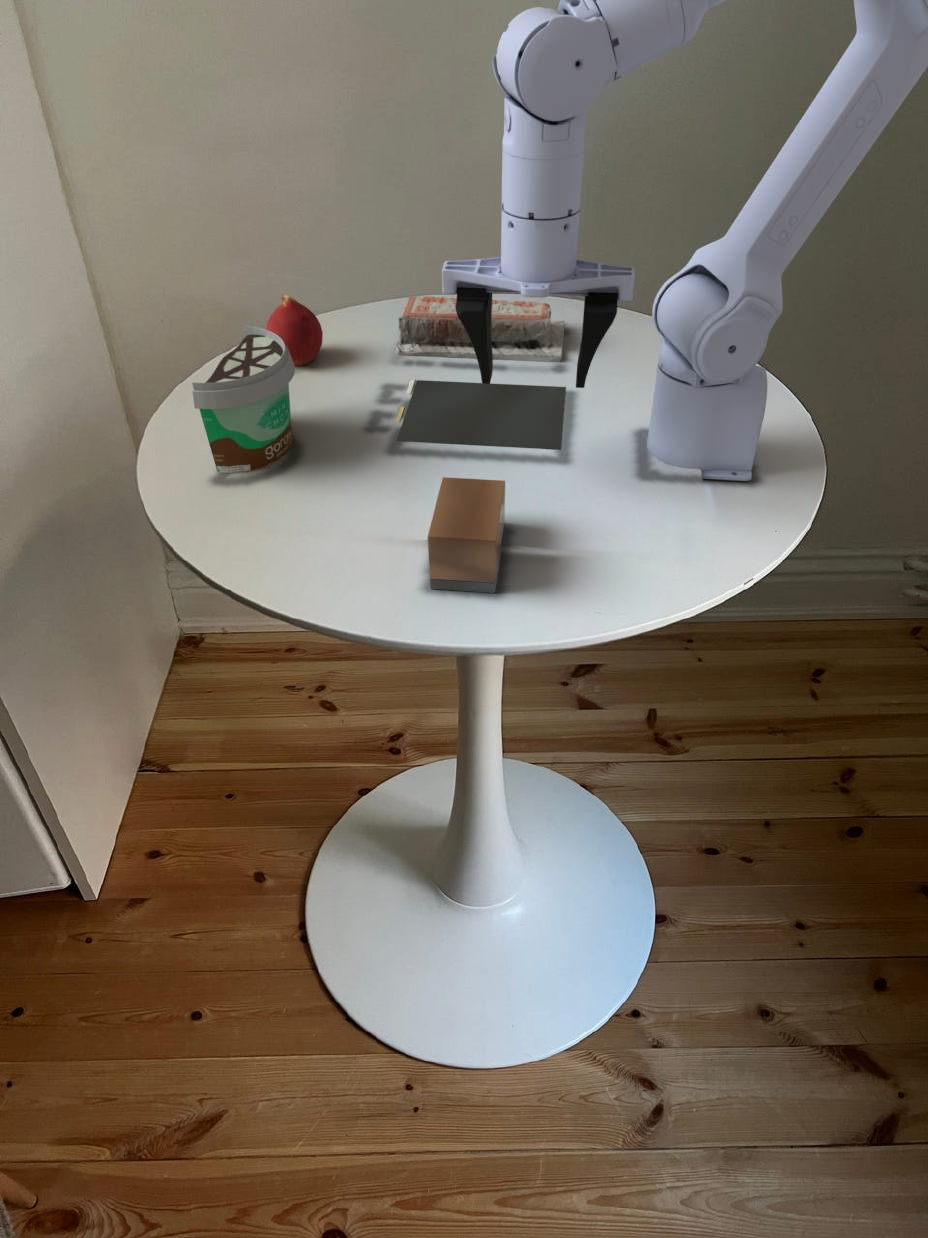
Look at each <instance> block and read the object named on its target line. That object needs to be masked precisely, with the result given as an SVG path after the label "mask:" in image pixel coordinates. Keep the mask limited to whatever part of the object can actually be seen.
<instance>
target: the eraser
mask: <svg viewBox="0 0 928 1238" xmlns="http://www.w3.org/2000/svg"><path fill="white" fill-rule="evenodd" d="M505 509H506V481H505V480H499V479H482V478H481V479H480V478H463V477H446V476H442V478H441V483H440V486H439V490H438V494H437V498H436V502H435V506H434V510H433V514H432V518H431V521H430V522H431V523H430V526H429V530H428V534H427V551H428V570H429V589H431V590H444V591H459V592H473V593H486V594H487V593H489V594H495V593H496V589H497V582H498V575H499V569H500V564H501V557H502V549H503V544H502V540H503V534H504V528H505V518H506V517H505V513H506V511H505Z"/></svg>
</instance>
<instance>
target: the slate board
mask: <svg viewBox="0 0 928 1238" xmlns="http://www.w3.org/2000/svg"><path fill="white" fill-rule="evenodd" d="M566 389H567V388H566V386H556V385H553V386H552V385H536V384H535V385H533V384H532V385H531V384H511V383H491V382H490V384H486V383H482V382H466V381H448V380H447V381H443V380H424V379H423V380H422V379H417V380H416V381H415V384H414V387H413V389H412V392H411V396H410V400H409V402H408V406H407V407H406V411H405V414H404V416H403V420H402V423H401V426H400V429H399V432H398V435H397V438H396V440H395V441H396V442H401V443H402V442H405V443H420V444H421V443H423V444H439V445H440V444H442V445H443V444H445V445H458V446H459V445H460V446H461V445H462V446H481V447H496V448H497V447H499V448H518V449H519V448H520V449H535V450H537V449H539V450H555V451H560V450H562V438H563V426H564V414H565V413H564V412H565V399H566Z"/></svg>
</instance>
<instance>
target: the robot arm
mask: <svg viewBox="0 0 928 1238" xmlns="http://www.w3.org/2000/svg"><path fill="white" fill-rule="evenodd" d="M726 1H727V0H559V3H558V8H557V10H555V9H553V8H549V7H542V6H537V7H530V8H528V9H526V10H523V11H522V12H520V13H518V14H517V15H516V16H515V17H514V18H513V19H512V20H511V21H509V23H508V24H507V29H506V31H503V32H502V35H501V37H500V39H499V42H498V45H497V49H496V54H493V56H492V58H491V63H492V70H493V74H494V77H495V80H496V82H497V84H498V86H499V88H500V89H501V90H502V92H503V93H504V94H505V97H504V101H503V102H504V104H503V105H504V106H503V107H504V113H503V117H504V119H503V135H502V141H501V142H502V143H501V144H502V145H501V146H502V147H501V148H502V149H501V156H502V157H501V162H502V163H501V218H500V219H501V221H500V222H501V226H500V227H501V230H500V231H501V233H500V235H501V236H500V256H497V257H490V258H489V257H487V258H486V257H485V258H476V259H465V260H464V259H463V260H444V263H443V266H442V269H441V287H442V295H446V296H447V295H449V296H450V295H451V296H455V295H456V298H457V302H456V305H455V309H456V313H457V315H458V318H459V320H460V321H461V323H462V325H463V326H464V328H465V330H466V332H467V334H468V336H469V338H470V341H471V343H472V345H473V348H474V351H475V354H476V357H477V359H476V360H477V363H478V364H477V365H478V368H479V373H480V379H481V380H480V381H481V383H486V384H490V383H491V380H492V377H493V366H494V360H493V355H492V339H491V317H492V300H493V294H510V295H511V294H515V295H517V294H518V295H521V296H522V297H524V298H541V299H542V298H547V297H549V296H567V297H568V296H570V297H584V302H583V317H582V330H581V338H580V345H579V352H578V356H577V357H578V358H577V363H576V377H575V388H576V389H584V388H586V387H585V386H586V380H587V377H588V373H589V370H590V367H591V364H592V362H593V359H594V356H595V354H596V353H597V351H598V348H599V346H600V344H601V343H602V341H603V339H604V337H605V336H606V334H607V332H608V331H609V330H610V328H611V326H612V325H613V323H614V321H615V319H616V318H617V317H616V316H617V314H618V301H619V302H632V301H633V298H634V289H635V282H636V281H635V279H636V271H635V267H634V266H625V265H615V264H607V263H601V262H595V261H589V260H584V259H578V244H579V228H580V217H581V202H582V188H583V187H582V186H583V185H582V184H583V172H584V159H585V158H584V157H585V145H586V144H585V143H586V139H585V129H586V117H587V112H588V110H590V108H591V107H592V106H593V104H594V103H595V101H596V100H597V98H598V96H599V94H600V92H601V90H602V88H603V87H606V86H608V85H610V84H612V83H613V82H616V81H617V80H620V79H621V78H623V77H625V76H626V75H629V74H630V73H633V72H635V71H637V70H639V69H641V68H642V67H644V66H646V65H647V64H648V65H649V63H651V62H653V61H655V60H657V59H659V58H661V57H663V56H665V55H666V54H669V53H671V52H672V51H674V50H676V49H678V48H680V47H681V46H683V45H685V44H688V43H689V42H691V41H692V40H693V39H694V37H695V35H696V34H697V32H698V30H699V27H700V25H701V22H702V21H703V18H704V15H705V14H706V13H707V10H709V9H711V8H714V7H716V6H718V5H720V4H722V3H724V2H726ZM853 7H854V17H855V23H856V24H855V25H856V34H855V36H854V38H853V39H852V40H851V42H850V44H849V45H848V47H847V48H846V50H845V51H844V52H843V55H842V56H841V58H840V59H839V60H838V62H837V64H836V66H835V67H834V68H833V70H832V71H831V73H830V74H829V76H828V77H827V79H826V80H825V81H824V83H823V85H822V87H821V88H820V90H819V91H818V92H817V94H816V96H815V97H814V99H813V100H812V101H811V104H809V106H808V108H807V110H805V113H804V114H803V116H802V117H801V118H800V120H799V122H798V123H797V125H796V126H795V128H794V130H793V131H792V133H791V134H790V135H789V137H788V138H787V140H786V142H785V143H784V145H783V146H782V148H781V149H780V151H779V152H778V154H777V156H776V157H775V159H774V160H773V161H772V163H771V164H770V166H769V167H768V169H767V171H766V172H765V173H764V175H763V177H762V178H761V180H760V181H759V183H758V184H757V186H756V187H755V189H754V190H753V192H752V194H751V195H750V197H749V198H748V199H747V201H746V202H745V204H744V206H743V207H742V209H741V210H740V212H739V213H738V215H737V216H736V218H735V219H734V221H733V223H732V224H731V225H730V227H729V228H728V230H727V232H726V233H725V234H724V236H722V237H721V238H719V239H718V240H715V241H713V242H710V243H708V244H706V245H704V246H702V247H699V248H698V249H697V250H695V252H694V253H693V254H692V256H691V258H690V260H689V261H688V262H687V264H686V265H685V266H684V267H683V268H681V269H680V270H679V271H678V272H676V273H675V274H674V275H672V276H671V277H669V278H668V279H667V280H666V281H665V282H664V283H663V285H662V286H661V287H660V288H659V290H658V291H657V293H656V295H655V297H654V301H653V303H652V309H651V310H652V311H651V314H652V315H651V317H652V323H653V325H654V327H655V329H656V330H657V332H658V333H659V334H660V335H661V342H660V343H661V344H660V351H659V354H658V360H657V367H656V375H655V383H654V390H653V397H652V405H651V413H650V418H649V426H648V433H647V441H646V447H647V450H648V452H649V453H650V455H651V456H652V457H654V458H655V459H656V460H657V461H660V462H662V463H664V464H666V465H669V466H672V467H675V468H681V469H682V468H683V469H700V472H701V479H703V480H718V481H719V480H720V481H738V482H749V481H751V480H752V477H753V473H752V470H753V465H754V461H755V457H756V453H757V448H758V443H759V439H760V436H761V430H762V426H763V422H764V419H765V418H764V417H765V413H766V407H767V399H768V374H767V373H768V372H767V370H766V368H765V367H764V366H761V365H757V364H758V363H759V361H760V360H761V358H762V356H763V355H764V353H765V350H766V348H767V342H768V339H769V335H770V333H771V331H772V328H773V327H774V325H775V323H776V322H777V320H779V317H780V316H781V315H782V313H783V309H784V304H783V303H784V302H783V301H784V300H783V285H782V277H783V276H782V275H783V273H784V272H785V271H786V269H787V268H788V266H789V265H790V263H791V262H792V261H793V259H794V258H795V256H796V255H797V253H799V250H800V249H801V248H802V247H803V245H804V244H805V242H806V241H807V239H808V238H809V237H810V235H811V234H812V232H813V231H814V229H815V228H816V227H817V225H818V224H819V222H820V221H821V219H822V218H823V216H824V215H825V213H826V212H827V211H828V209H829V208H830V206H831V205H832V204H833V202H834V201H835V199H837V196H838V195H839V193H840V192H841V191H842V190H843V188H844V186H846V184H847V182H848V181H849V180H850V178H851V177H852V175H853V173H854V172H855V171H856V169H857V168H858V167H859V165H860V164H861V162H862V161H863V159H864V158H865V157H866V155H867V154H868V153H869V151H870V150H871V148H872V147H873V145H874V144H875V143H876V141H877V140H878V138H879V137H880V135H881V134H882V132H883V131H884V129H885V128H886V127H887V125H888V124H889V123H890V121H891V120H892V118H893V116H895V114H896V113H897V111H898V110H899V108H900V107H901V105H902V104H903V102H904V101H905V100H906V99H907V97H908V95H909V94H910V92H911V91H912V90H913V88H914V87H915V86H916V84H917V83H918V81H919V80H920V78H921V77H922V76H923V74H924V73H925V71H926V70H927V69H928V0H853Z"/></svg>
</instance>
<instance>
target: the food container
mask: <svg viewBox="0 0 928 1238" xmlns="http://www.w3.org/2000/svg"><path fill="white" fill-rule="evenodd" d="M243 329H244V335H245V337H243V338H242V340H241V342H240V343H239V344H238V345H237V346H236V347H235V349H233V350H232V351H229V352H228V353H227V354H226V355H225V356H223V357H222V358H221V360H220V362H219V363H218V364H217V366H216V368H215V370H214V371H213V373H212V374H211V375H210V377H209V378H208V379H207V380H205V381H206V382H194V381H193V382H192V388H193V390H192V397H193V405H194V406H193V407H194V409H197V410H199V413H200V416H201V420H202V423H203V427H204V430H205V435H206V437H207V439H208V440H207V441H208V444H209V447H210V452H211V455H212V459H213V462H214V465H215V468H216V473H222V474H235V473H244V472H245V473H246V472H247V473H248V472H252V471H255V470H259V469H263V468H265V467H268V466H270V465H271V464H274V463H277V462H278V461H280V460H281V459H282V458H284V457H285V456H286V455H287V454H288V453H289V452H290V450H291V448H292V446H293V442H294V441H293V428H292V414H291V413H292V412H291V400H290V399H291V398H290V386H289V385H290V384H289V383H290V382H291V381H292V379H293V378H294V376H295V373H296V368H295V367H296V366H294V363H293V360H292V358H291V355H290V353H289V350H288V348H287V346H286V345H285V344H284V342H283V340H282V339H281V338H280V337H279V336H278V335H276V334H275V333H273V332H270V331H268V330H266V328H261V327H258V326H253V325H243Z"/></svg>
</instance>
